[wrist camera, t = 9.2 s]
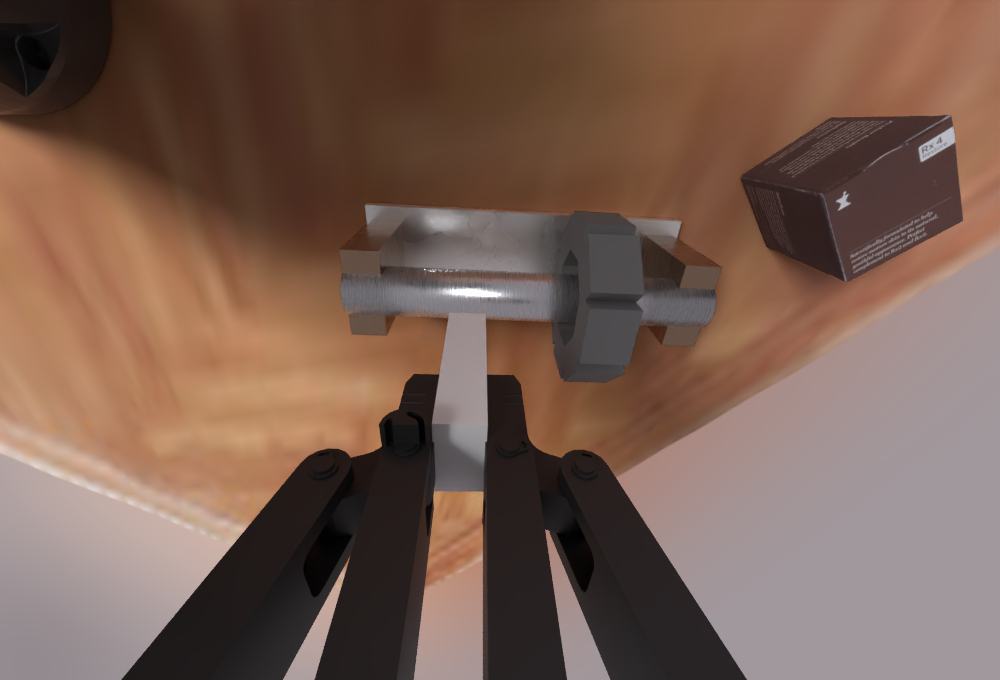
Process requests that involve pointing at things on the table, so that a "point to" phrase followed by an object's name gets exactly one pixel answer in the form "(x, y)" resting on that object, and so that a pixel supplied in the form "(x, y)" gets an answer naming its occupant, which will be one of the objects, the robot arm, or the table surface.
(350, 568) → the robot arm
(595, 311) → the grey hex nut
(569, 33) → the table surface
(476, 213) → the pipe rig
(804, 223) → the box
